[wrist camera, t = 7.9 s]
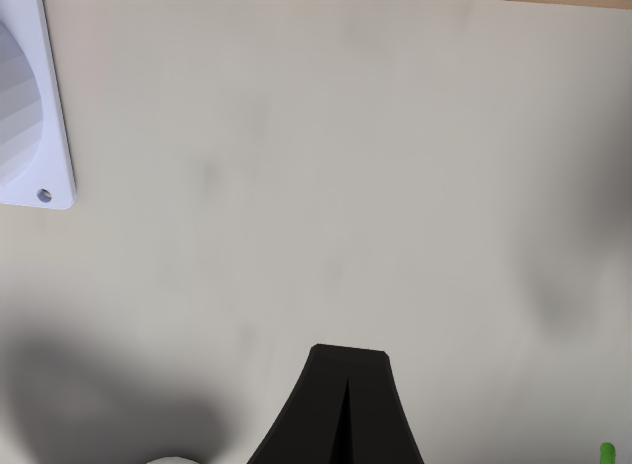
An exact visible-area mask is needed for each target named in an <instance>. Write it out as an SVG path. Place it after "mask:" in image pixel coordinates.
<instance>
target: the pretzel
mask: <svg viewBox="0 0 632 464" xmlns="http://www.w3.org/2000/svg"><path fill="white" fill-rule="evenodd" d="M146 464H199V463H197V462H194V461H192V460H188V459H184V458H181V457H163V458H160V459H157V460H154V461H151V462H148V463H146Z"/></svg>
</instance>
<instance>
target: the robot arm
mask: <svg viewBox="0 0 632 464" xmlns="http://www.w3.org/2000/svg"><path fill="white" fill-rule="evenodd" d="M43 189H44V190H47V191H48V192H49V193H50V194H51V196H52V198H51V197H48V196H46V195H45V194H44V192H43ZM76 197H77V194H76V188H75V183H74V177H73V171H72V166H71V160H70V154H69V149H68V143H67V137H66V132H65V126H64V121H63V115H62V109H61V104H60V98H59V92H58V87H57V81H56V75H55V70H54V64H53V59H52V53H51V47H50V42H49V36H48V30H47V25H46V19H45V13H44V8H43V2H42V0H0V203H4V204H14V205H24V206H33V207H43V208H53V209H67V208H69V207H70V206H71V205H72V204H73V203H74V202H75V201H76ZM247 464H424V462H423V459H422V457H421V455H420V452H419V450H418V447H417V445H416V442H415V440H414V437H413V435H412V432H411V430H410V427H409V425H408V422H407V419H406V416H405V414H404V411H403V408H402V405H401V402H400V399H399V396H398V392H397V389H396V386H395V382H394V378H393V374H392V370H391V365H390V359H389V356H388V355H387V354H386V353H385V352H384V351H377V350H369V349H360V348H352V347H343V346H334V345H326V344H316V345H315V346H313V347H311V350H310V353H309V356H308V359H307V361H306V363H305V366H304V368H303V370H302V373H301V375H300V377H299V379H298V381H297V383H296V385H295V387H294V389H293V390H292V392H291V394H290V396H289V398H288V400H287V401H286V403H285V405H284V407H283V408H282V410H281V412H280V413H279V415H278V417H277V418H276V420H275V422H274V423H273V425H272V427H271V428H270V430H269V431H268V433H267V435H266V436H265V438H264V439H263V441H262V442H261V444H260V445H259V446H258V448H257V449H256V451H255V452H254V454H253V455H252V457H251V458H250V459H249V461H248V462H247Z"/></svg>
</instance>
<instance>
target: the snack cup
mask: <svg viewBox="0 0 632 464" xmlns="http://www.w3.org/2000/svg"><path fill="white" fill-rule="evenodd" d="M600 450H601V458H600V464H615V457H616V454H615V448H614V446H613V445H612V444H611V443H603V444H602V445H601V448H600Z"/></svg>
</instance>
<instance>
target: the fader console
mask: <svg viewBox="0 0 632 464" xmlns="http://www.w3.org/2000/svg"><path fill="white" fill-rule="evenodd" d="M507 1H521V2H535V3H548V4H562V5H576V6H590V7H604V8H618V9H632V0H507Z"/></svg>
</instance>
